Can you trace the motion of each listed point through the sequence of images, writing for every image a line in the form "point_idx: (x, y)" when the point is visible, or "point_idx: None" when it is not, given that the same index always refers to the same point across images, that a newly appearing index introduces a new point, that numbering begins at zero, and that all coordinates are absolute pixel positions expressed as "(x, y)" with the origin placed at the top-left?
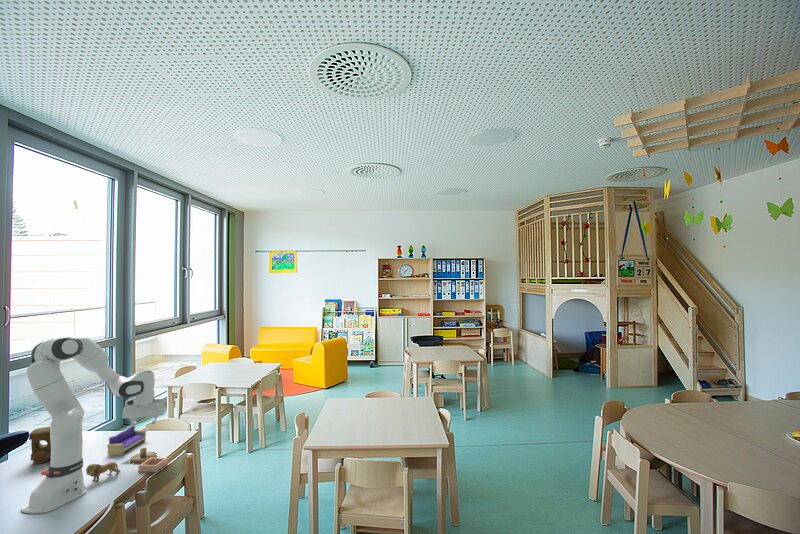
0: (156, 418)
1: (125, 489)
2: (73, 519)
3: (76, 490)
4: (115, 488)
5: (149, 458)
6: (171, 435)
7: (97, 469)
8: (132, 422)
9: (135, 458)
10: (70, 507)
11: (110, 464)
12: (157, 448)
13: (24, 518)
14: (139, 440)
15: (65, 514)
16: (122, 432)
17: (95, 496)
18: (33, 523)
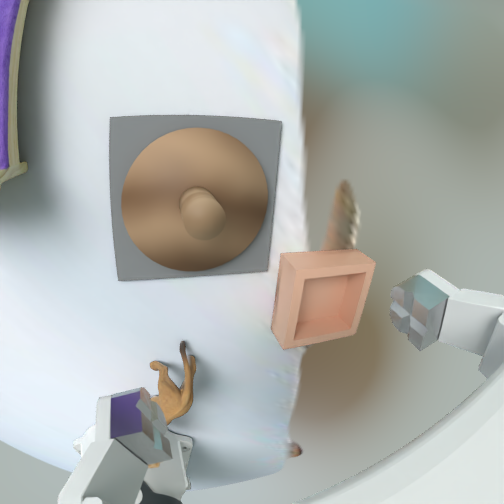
0: (487, 343)
1: (293, 402)
2: (256, 470)
3: (184, 462)
4: (259, 407)
5: (294, 282)
6: None
7: None
8: (131, 474)
9: (165, 233)
10: (212, 463)
11: (183, 414)
12: (186, 39)
13: None
14: (22, 7)
15: (225, 470)
16: None
17: (233, 436)
18: None
